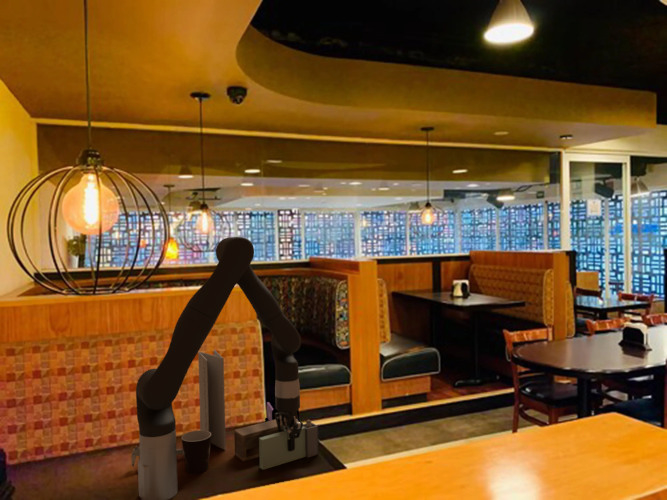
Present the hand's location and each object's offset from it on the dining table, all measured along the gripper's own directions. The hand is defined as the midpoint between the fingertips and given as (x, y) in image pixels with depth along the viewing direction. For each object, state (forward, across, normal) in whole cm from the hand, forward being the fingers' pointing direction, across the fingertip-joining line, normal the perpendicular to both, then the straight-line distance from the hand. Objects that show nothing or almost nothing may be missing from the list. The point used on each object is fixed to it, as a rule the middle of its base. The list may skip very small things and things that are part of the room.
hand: (289, 448), depth 156 cm
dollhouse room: (+4, -30, +15) cm, 34 cm away
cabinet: (+3, -11, -3) cm, 12 cm away
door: (+3, 0, -2) cm, 4 cm away
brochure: (+4, -27, -14) cm, 30 cm away
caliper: (+4, -23, -30) cm, 38 cm away
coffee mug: (+4, -13, -24) cm, 27 cm away
